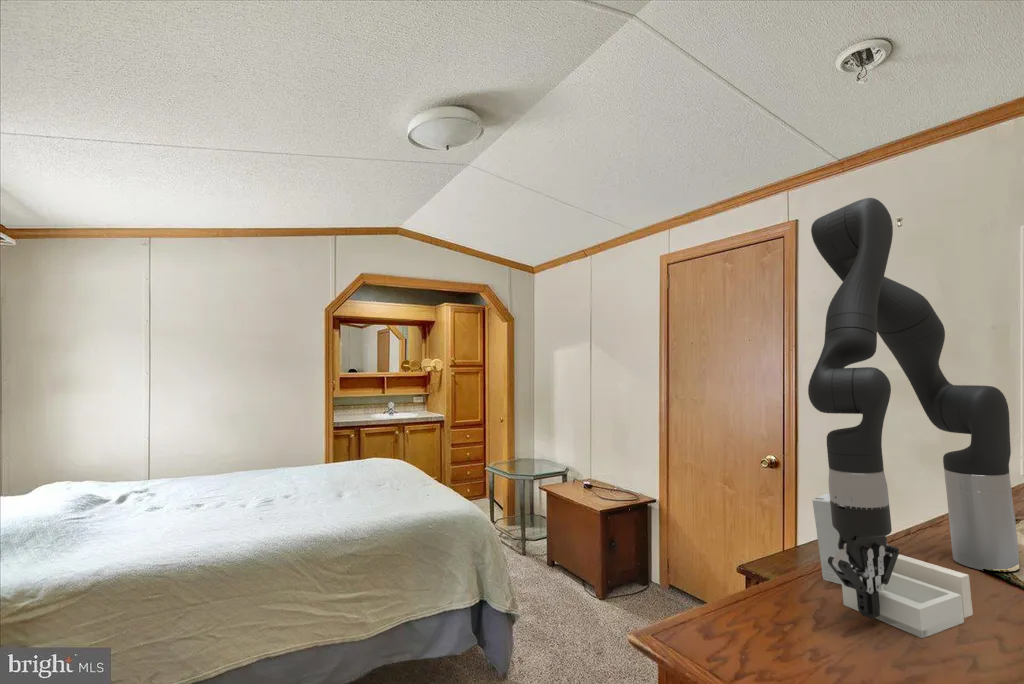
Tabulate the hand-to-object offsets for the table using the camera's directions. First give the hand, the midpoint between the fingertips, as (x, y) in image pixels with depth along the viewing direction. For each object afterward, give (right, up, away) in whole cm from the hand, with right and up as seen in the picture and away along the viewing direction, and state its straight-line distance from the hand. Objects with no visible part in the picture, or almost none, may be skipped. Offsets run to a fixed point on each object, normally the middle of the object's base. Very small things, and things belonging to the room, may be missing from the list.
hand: (869, 615), depth 77 cm
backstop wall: (+14, -1, +5) cm, 15 cm away
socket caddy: (+7, -1, +2) cm, 7 cm away
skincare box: (+7, -2, +14) cm, 16 cm away
